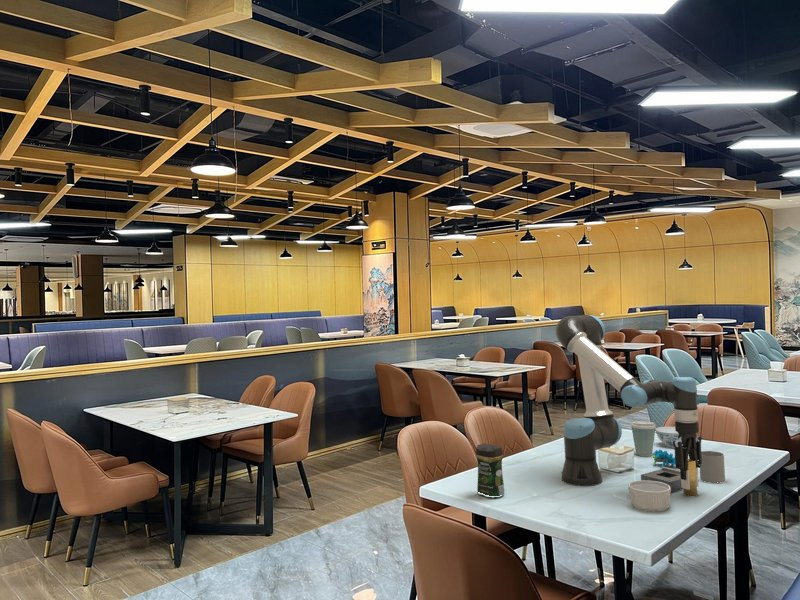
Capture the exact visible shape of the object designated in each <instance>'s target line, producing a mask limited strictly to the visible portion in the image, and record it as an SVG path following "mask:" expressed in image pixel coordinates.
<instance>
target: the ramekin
mask: <svg viewBox="0 0 800 600" xmlns="http://www.w3.org/2000/svg"><path fill="white" fill-rule="evenodd" d="M627 488H628V490H629V494H630V495H629V496H630V501H631V503H632V505H633V506H634V507H635V508H636V509H638V510H640V509H641V510H640V511H644V510H646V512H652V511H653V512H654V511H655V512H657V513H658V512H664V511H666V510H668V508H669V507H670V502H671V493H670V492H671V487H670V486H669V485H667V484H665V483H662V482H657V481H648V480H642V481H641V480H634V481H632V482H629V483H628V485H627Z"/></svg>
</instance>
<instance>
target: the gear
mask: <svg viewBox="0 0 800 600" xmlns="http://www.w3.org/2000/svg"><path fill="white" fill-rule="evenodd" d="M673 456H674V453H671V452H670V453H668V450H662V449H658V450H657V449H655V450H654V453H653V456H652V458H653V460H654V461H653V464H652V466H654V465H655V466H656V465H657V462H658V463H662V464H661V467H666V465H668V464H669V465H671V466H672V465H674V466H676V465H675V456H674V457H673ZM661 467H660V468H661Z"/></svg>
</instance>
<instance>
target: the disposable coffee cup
mask: <svg viewBox="0 0 800 600" xmlns="http://www.w3.org/2000/svg"><path fill="white" fill-rule="evenodd" d="M630 428H631V432H632V439H633V444H634V448H635V454H636V455H637V456H639V457H645V458H646V457H647V456H648V457H651V456H652V455H653V450H654V444H655V443H654V442H655V434H656V430H655V429H656V428H657V426H656V423H655V422H652V421H639V420H638V421H633V422H632V423H630ZM648 457H647V458H648Z"/></svg>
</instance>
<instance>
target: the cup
mask: <svg viewBox="0 0 800 600" xmlns="http://www.w3.org/2000/svg"><path fill="white" fill-rule="evenodd" d="M724 456H725V455H724V453H722V452H719V451H714V450H703V451H702V450H701V457H702V464H701V467H700V468H699V478H700V479H699V480H700V481H702V482H704V481H705V483H708V482H711V483H710V484H721V483H720V482H724V481H725V482H726V471H725V457H724ZM717 482H718V483H717ZM725 482H724V483H725Z"/></svg>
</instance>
